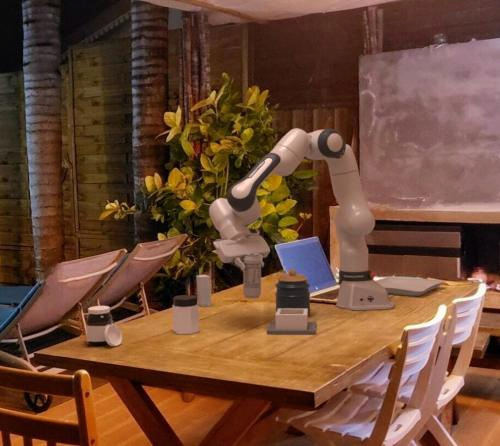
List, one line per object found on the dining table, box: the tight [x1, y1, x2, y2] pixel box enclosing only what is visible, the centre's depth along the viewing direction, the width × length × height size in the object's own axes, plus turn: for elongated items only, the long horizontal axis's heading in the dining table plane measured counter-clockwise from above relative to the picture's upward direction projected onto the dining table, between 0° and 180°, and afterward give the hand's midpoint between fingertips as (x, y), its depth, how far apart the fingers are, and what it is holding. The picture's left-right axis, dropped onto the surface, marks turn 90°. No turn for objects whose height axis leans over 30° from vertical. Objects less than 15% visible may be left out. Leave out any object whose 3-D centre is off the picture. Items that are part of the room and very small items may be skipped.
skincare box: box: [195, 274, 212, 308], centre depth 287 cm, size 6×4×12 cm
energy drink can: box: [242, 253, 262, 300], centre depth 245 cm, size 6×6×15 cm
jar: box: [172, 294, 200, 335], centre depth 243 cm, size 9×8×12 cm
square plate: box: [375, 276, 445, 297], centre depth 310 cm, size 27×27×4 cm
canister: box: [274, 268, 311, 318], centre depth 263 cm, size 13×13×18 cm
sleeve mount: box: [266, 308, 317, 336], centre depth 243 cm, size 16×14×6 cm
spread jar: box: [85, 305, 123, 347], centre depth 229 cm, size 12×11×12 cm
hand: (253, 267), depth 244 cm, fingers closed on energy drink can, 6 cm apart
